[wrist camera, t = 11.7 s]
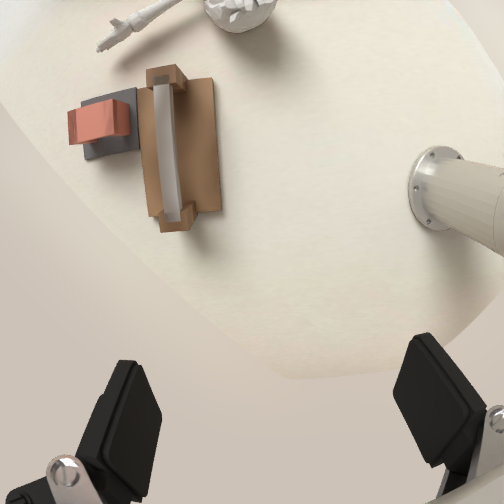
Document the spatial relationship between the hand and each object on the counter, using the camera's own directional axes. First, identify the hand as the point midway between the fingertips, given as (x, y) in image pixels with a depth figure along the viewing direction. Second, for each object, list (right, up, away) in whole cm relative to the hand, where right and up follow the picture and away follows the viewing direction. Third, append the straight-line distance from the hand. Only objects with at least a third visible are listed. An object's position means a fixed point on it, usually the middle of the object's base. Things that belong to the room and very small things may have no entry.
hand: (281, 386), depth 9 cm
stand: (-10, +17, +23) cm, 30 cm away
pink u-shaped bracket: (-19, +20, +21) cm, 35 cm away
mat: (-19, +20, +22) cm, 35 cm away
